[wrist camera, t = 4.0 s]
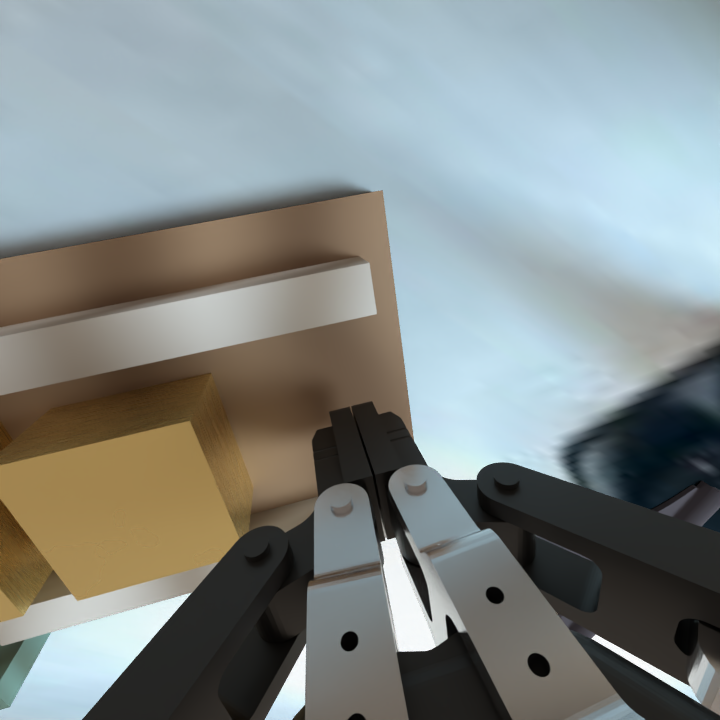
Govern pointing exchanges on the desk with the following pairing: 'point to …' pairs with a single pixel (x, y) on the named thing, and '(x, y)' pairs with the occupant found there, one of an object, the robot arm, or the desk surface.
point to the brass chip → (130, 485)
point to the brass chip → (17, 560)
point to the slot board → (205, 356)
